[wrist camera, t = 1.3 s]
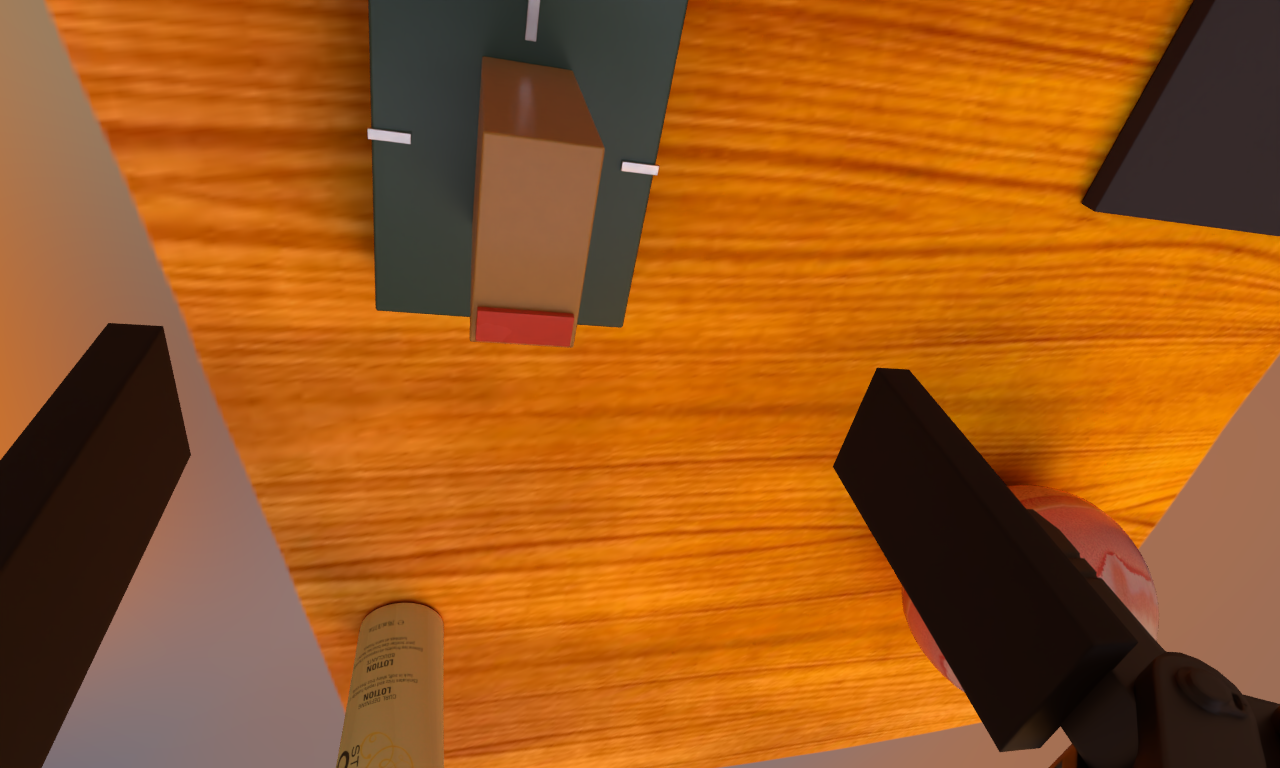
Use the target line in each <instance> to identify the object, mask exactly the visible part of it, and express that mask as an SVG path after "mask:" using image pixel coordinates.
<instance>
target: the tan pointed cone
mask: <svg viewBox="0 0 1280 768" xmlns="http://www.w3.org/2000/svg"><path fill="white" fill-rule="evenodd" d="M443 647H444V625H443V621H442V618H441V617H440V616H439V614H438V613H437V612H435V611H434V610H433V609H431V608H429V607H427V606H424V605H421V604H415V603H396V604H390V605H386V606H383V607H381V608H378V609H376V610H374V611H373V612H371V613H370V614H369V615H368V616H366V618H365V619H364V620H363V622H362V624H361V627H360V632H359V637H358V643H357V649H356V655H355V661H354V668H353V674H352V680H351V685H350V691H349V697H348V703H347V709H346V714H345V720H344V726H343V731H342V737H341V742H340V748H339V754H338V759H337V765H336V768H444V735H443Z"/></svg>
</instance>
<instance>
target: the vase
mask: <svg viewBox="0 0 1280 768" xmlns="http://www.w3.org/2000/svg"><path fill="white" fill-rule="evenodd" d="M1007 487H1008V488H1009V489H1010V490H1011V491H1012V493H1013V494H1014V495H1015V496H1016V497H1017V498H1018V500H1019V501H1020V502H1021V503H1022V504H1023V506H1024V507H1025V508H1026V509H1033V510H1034V511H1036V512H1037V513H1038V514H1040V515H1041V516H1042V517H1044V518H1045V519H1046V520H1048V521H1049V522H1050V523H1051V524H1053V525H1054V526H1055V527H1057V528H1058V529H1059V530H1060V531H1061V532H1062V533H1063V534H1064V535H1065V536H1066V538H1067V539H1068V540H1069V541H1070V542H1071V543H1072V545H1073V546H1074V547H1075V548H1076V549H1077V550H1078V551H1079V553H1080V557H1081V558H1085V560H1086V561H1087V562H1088V563H1089V564H1090V565H1091V566H1092V568H1093V569H1094V570H1095V571H1096V572H1097V574H1096V575H1097V577H1098V578H1102V579H1103V580H1104V581H1105V583H1106V584H1107V585H1108V586H1109V587H1110V588H1111V590H1112V591H1113V592H1114V593H1115V594H1116V595H1117V596H1118V598H1119V599H1120V600H1121V601H1122V602H1123V603H1124V605H1125V606H1126V607H1127V608H1128V609H1129V610H1130V611H1131V613H1132V614H1133V615H1134V616H1135V617H1136V618H1137V620H1138V621H1139V622H1140V623H1141V624H1142V625H1143V626H1144V628H1145V629H1146V630H1147V631H1148V632H1149V633H1150V635H1151V636H1152V637H1153V638H1154V639H1155V640H1156V641H1157V634H1158V626H1159V609H1158V600H1157V594H1156V590H1155V586H1154V583H1153V580H1152V577H1151V574H1150V572H1149V569H1148V566H1147V565H1146V563H1145V561H1144V559H1143V557H1142V555H1141V554H1140V552H1139V550H1138V549H1137V547H1136V546H1135V544H1134V543H1133V542H1132V540H1131V539H1130V538H1129V536H1128V535H1127V534H1126V533H1125V531H1124V530H1123V529H1122V528H1121V527H1120V525H1119V524H1117V523H1116V522H1115V521H1114V520H1113V519H1112V518H1111V517H1110V516H1109V515H1107V514H1106V513H1105V512H1103V511H1102V510H1101V509H1099V508H1098V507H1096V506H1095V505H1093V504H1092V503H1090V502H1088V501H1086V500H1085V499H1083V498H1080V497H1078V496H1075V495H1073V494H1070V493H1067V492H1065V491H1061V490H1057V489H1053V488H1048V487H1042V486H1035V485H1013V486H1007ZM902 603H903V609H904V614H905V617H906V620H907V622H908V625H909V627H910V630H911V632H912V634H913V636H914V638H915V640H916V642H917V643H918V645H919V646H920V648H921V650H922V651H923V652H924V654H925V655H926V656H927V657H928V659H929V660H930V661H931V662H932V664H933V665H934V666H935V667H936V668H937V669H938V670H939V671H940V672H941V673H942V675H943V676H944V677H946V678H947V679H948V680H949V681H950V682H951V683H953V684H954V685H955V686H956V687H958V688H959V689H961V690H962V691H964V690H963V688H962V687H961V685H960V683H959V681H958V680H957V678H956V676H955V675H954V673H953V671H952V669H951V668H950V666H949V664H948V663H947V661H946V659H945V657H944V656H943V654H942V652H941V651H940V649H939V647H938V645H937V644H936V642H935V640H934V639H933V637H932V635H931V634H930V632H929V630H928V628H927V627H926V625H925V623H924V622H923V620H922V618H921V616H920V615H919V613H918V611H917V610H916V608H915V606H914V604H913V603H912V601H911V599H910V598H909V596H908V594H907V592H906V591H905V589H904V587H903V586H902Z"/></svg>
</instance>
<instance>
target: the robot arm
mask: <svg viewBox="0 0 1280 768" xmlns="http://www.w3.org/2000/svg"><path fill="white" fill-rule="evenodd" d="M190 456H191V453H190V449H189V444H188V440H187V435H186V431H185V426H184V421H183V417H182V412H181V407H180V403H179V398H178V394H177V389H176V384H175V379H174V375H173V370H172V365H171V361H170V356H169V352H168V347H167V343H166V338H165V333H164V329H163V326H150V325H148V326H147V325H132V324H115V323H108V324H107V326H106V327H105V328H104V329H103V331H102V332H101V333H100V335H99V336H98V337H97V338H96V340H95V341H94V342H93V343H92V345H91V346H90V347H89V349H88V350H87V351H86V353H85V354H84V355H83V356H82V358H81V359H80V360H79V361H78V363H77V364H76V365H75V366H74V368H73V369H72V370H71V371H70V373H69V374H68V375H67V376H66V378H65V379H64V380H63V382H62V383H61V384H60V385H59V387H58V388H57V389H56V391H55V392H54V393H53V394H52V395H51V397H50V398H49V399H48V401H47V402H46V403H45V404H44V406H43V407H42V408H41V409H40V411H39V412H38V413H37V414H36V416H35V417H34V418H33V420H32V421H31V422H30V423H29V425H28V426H27V427H26V428H25V430H24V431H23V432H22V434H21V435H20V436H19V437H18V439H17V440H16V441H15V442H14V444H13V445H12V446H11V448H10V449H9V450H8V451H7V453H6V454H5V455H4V456H3V458H2V459H1V460H0V768H42V766H43V764H44V761H45V759H46V757H47V755H48V753H49V751H50V749H51V747H52V745H53V743H54V740H55V738H56V736H57V734H58V732H59V730H60V728H61V726H62V724H63V721H64V720H65V718H66V715H67V713H68V711H69V709H70V707H71V705H72V703H73V701H74V698H75V696H76V694H77V692H78V690H79V688H80V686H81V684H82V682H83V680H84V678H85V675H86V674H87V671H88V669H89V667H90V665H91V663H92V661H93V659H94V657H95V655H96V652H97V650H98V648H99V646H100V644H101V642H102V640H103V638H104V635H105V634H106V632H107V630H108V627H109V625H110V623H111V621H112V619H113V617H114V615H115V612H116V611H117V609H118V606H119V604H120V602H121V600H122V598H123V596H124V594H125V592H126V590H127V588H128V585H129V583H130V581H131V579H132V577H133V575H134V573H135V571H136V569H137V567H138V565H139V562H140V560H141V558H142V556H143V554H144V552H145V550H146V548H147V546H148V544H149V541H150V539H151V537H152V535H153V533H154V531H155V529H156V527H157V525H158V522H159V520H160V518H161V516H162V514H163V512H164V510H165V508H166V506H167V504H168V501H169V500H170V497H171V495H172V493H173V491H174V489H175V487H176V485H177V483H178V481H179V479H180V477H181V474H182V472H183V470H184V468H185V466H186V464H187V461H188V460H189V458H190ZM833 468H834V469H835V471H836V473H837V474H838V476H839V478H840V480H841V481H842V483H843V485H844V486H845V488H846V490H847V492H848V493H849V495H850V497H851V498H852V500H853V502H854V503H855V505H856V507H857V509H858V510H859V512H860V514H861V515H862V517H863V519H864V521H865V522H866V524H867V526H868V527H869V529H870V531H871V533H872V534H873V536H874V538H875V539H876V541H877V543H878V545H879V546H880V548H881V550H882V551H883V553H884V555H885V557H886V558H887V560H888V562H889V563H890V565H891V567H892V569H893V570H894V572H895V574H896V575H897V577H898V579H899V580H900V582H901V584H902V586H903V587H904V589H905V591H906V592H907V594H908V596H909V598H910V599H911V601H912V603H913V604H914V606H915V608H916V610H917V611H918V613H919V615H920V616H921V618H922V620H923V622H924V623H925V625H926V627H927V628H928V630H929V632H930V634H931V635H932V637H933V639H934V640H935V642H936V644H937V645H938V647H939V649H940V651H941V652H942V654H943V656H944V657H945V659H946V661H947V663H948V664H949V666H950V668H951V669H952V671H953V673H954V675H955V676H956V678H957V680H958V681H959V683H960V685H961V687H962V688H963V690H964V692H965V693H966V695H967V697H968V699H969V700H970V702H971V704H972V705H973V707H974V709H975V710H976V712H977V714H978V716H979V717H980V719H981V721H982V722H983V724H984V726H985V728H986V729H987V731H988V732H989V734H990V736H991V738H992V739H993V741H994V743H995V744H996V746H997V748H998V750H999V752H1005V751H1015V750H1025V749H1035V748H1041V747H1042V745H1043V744H1044V743H1045V742H1046V741H1047V740H1048V739H1049V738H1050V737H1051V736H1052V735H1053V734H1054V733H1055V731H1056V730H1057V729H1058V728H1059V727H1060V726H1061V727H1062V729H1063V730H1064V732H1065V733H1066V735H1067V736H1068V738H1069V739H1070V741H1071V742H1072V744H1071V745H1070V746H1069V747H1068V749H1066V750H1065V751H1064V753H1063V754H1062V755H1061V756H1060V757H1059V758H1058V759H1057V760H1056V761H1055V762H1054V763H1053V764H1052V765H1051V766H1050V767H1049V768H1280V704H1277V703H1273V702H1270V701H1265V700H1261V699H1258V698H1254V697H1250V696H1246V695H1242V693H1241V692H1240V691H1239V690H1238V689H1237V687H1236V686H1235V685H1234V684H1233V683H1231V682H1230V681H1229V680H1228V679H1227V678H1226V677H1224V676H1223V675H1222V674H1221V673H1220V672H1218V671H1217V670H1216V669H1214V668H1212V667H1211V666H1209V665H1207V664H1206V663H1204V662H1202V661H1201V660H1199V659H1196V658H1194V657H1191V656H1188V655H1185V654H1183V653H1177V652H1166V651H1165V650H1164V649H1163V648H1162V647H1161V646H1160V645H1159V644H1158V643H1157V641H1156V640H1155V639H1154V638H1153V637H1152V636H1151V635H1150V633H1149V632H1148V631H1147V630H1146V629H1145V628H1144V626H1143V625H1142V624H1141V623H1140V622H1139V621H1138V620H1137V618H1136V617H1135V616H1134V615H1133V614H1132V613H1131V611H1130V610H1129V609H1128V608H1127V607H1126V606H1125V605H1124V603H1123V602H1122V601H1121V600H1120V599H1119V598H1118V596H1117V595H1116V594H1115V593H1114V592H1113V591H1112V590H1111V588H1110V587H1109V586H1108V585H1107V584H1106V583H1105V581H1104V580H1103V579H1102V578H1098V577H1097V575H1096V574H1097V572H1096V571H1095V570H1094V569H1093V568H1092V566H1091V565H1090V564H1089V563H1088V562H1087V561H1086V560H1085V558H1081V557H1080V553H1079V551H1078V550H1077V549H1076V548H1075V547H1074V546H1073V545H1072V543H1071V542H1070V541H1069V540H1068V539H1067V538H1066V536H1065V535H1064V534H1063V533H1062V532H1061V531H1060V530H1059V529H1058V528H1057V527H1055V526H1054V525H1053V524H1051V523H1050V522H1049V521H1048V520H1046V519H1045V518H1044V517H1042V516H1041V515H1040V514H1038V513H1037V512H1036V511H1034V510H1033V509H1026V508H1025V507H1024V506H1023V504H1022V503H1021V502H1020V501H1019V500H1018V498H1017V497H1016V496H1015V495H1014V494H1013V493H1012V491H1011V490H1010V489H1009V488H1008V487H1007V485H1006V484H1005V483H1004V482H1003V481H1002V479H1001V478H1000V477H999V476H998V475H997V474H996V472H995V471H994V470H993V469H992V468H991V466H990V465H989V464H988V463H987V462H986V461H985V459H984V458H983V457H982V456H981V455H980V453H979V452H978V451H977V450H976V449H975V447H974V446H973V445H972V444H971V443H970V442H969V440H968V439H967V438H966V437H965V436H964V434H963V433H962V432H961V431H960V430H959V428H958V427H957V426H956V425H955V424H954V423H953V421H952V420H951V419H950V418H949V417H948V415H947V414H946V413H945V412H944V411H943V409H942V408H941V407H940V406H939V405H938V404H937V402H936V401H935V400H934V399H933V398H932V396H931V395H930V394H929V393H928V392H927V391H926V389H925V388H924V387H923V386H922V385H921V383H920V382H919V381H918V380H917V379H916V377H915V376H914V375H913V374H912V373H911V372H910V370H906V369H889V368H877V369H876V371H875V373H874V376H873V378H872V380H871V382H870V385H869V387H868V389H867V391H866V394H865V396H864V398H863V400H862V402H861V405H860V407H859V409H858V411H857V414H856V416H855V418H854V420H853V423H852V425H851V427H850V429H849V432H848V434H847V436H846V438H845V441H844V443H843V445H842V447H841V450H840V452H839V454H838V456H837V459H836V461H835V463H834V465H833Z"/></svg>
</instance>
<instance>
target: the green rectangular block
mask: <svg viewBox="0 0 1280 768" xmlns="http://www.w3.org/2000/svg"><path fill="white" fill-rule="evenodd" d="M687 4H688V0H368V9H369V51H370V93H371V127H368V128H367V136H368V139H372V176H373V218H374V260H375V301H376V310H378V311H392V312H407V313H421V314H435V315H450V316H464V317H470V303H471V259H472V222H473V205H474V188H475V170H476V153H477V136H478V119H479V102H480V85H481V68H482V57H484V56H485V57H491V58H497V59H504V60H510V61H516V62H523V63H529V64H535V65H541V66H548V67H554V68H560V69H566V70H572V71H573V73H574V76H575V78H576V80H577V83H578V85H579V88H580V90H581V92H582V95H583V97H584V100H585V102H586V104H587V107H588V109H589V112H590V114H591V116H592V119H593V121H594V124H595V126H596V128H597V131H598V133H599V136H600V138H601V140H602V143H603V145H604V148H605V151H604V158H603V164H602V170H601V177H600V183H599V189H598V195H597V202H596V208H595V214H594V220H593V227H592V233H591V239H590V246H589V252H588V258H587V264H586V271H585V277H584V283H583V289H582V296H581V302H580V308H579V315H578V321H577V324H578V325H592V326H607V327H622V326H623V322H624V317H625V312H626V307H627V302H628V297H629V292H630V287H631V282H632V277H633V272H634V267H635V262H636V257H637V252H638V247H639V242H640V238H641V233H642V228H643V223H644V218H645V213H646V208H647V203H648V198H649V193H650V188H651V183H652V178H653V175H658V170H659V165H655V163H656V158H657V153H658V148H659V143H660V138H661V133H662V128H663V123H664V118H665V113H666V108H667V104H668V99H669V94H670V89H671V84H672V79H673V74H674V69H675V64H676V59H677V54H678V49H679V44H680V39H681V34H682V29H683V24H684V19H685V14H686V9H687Z"/></svg>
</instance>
